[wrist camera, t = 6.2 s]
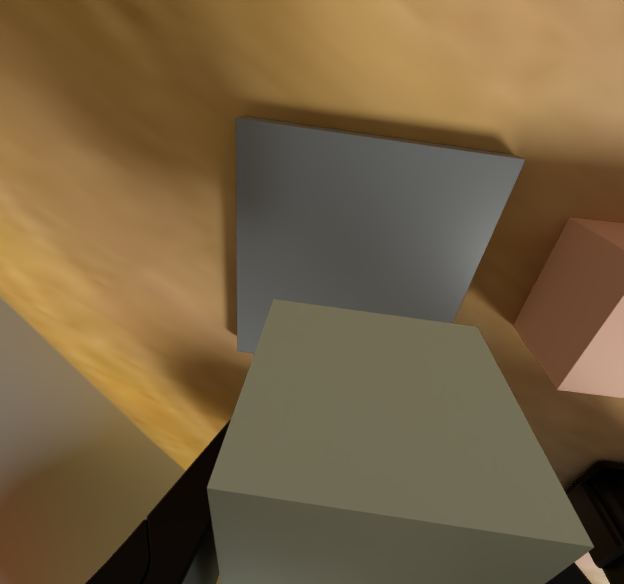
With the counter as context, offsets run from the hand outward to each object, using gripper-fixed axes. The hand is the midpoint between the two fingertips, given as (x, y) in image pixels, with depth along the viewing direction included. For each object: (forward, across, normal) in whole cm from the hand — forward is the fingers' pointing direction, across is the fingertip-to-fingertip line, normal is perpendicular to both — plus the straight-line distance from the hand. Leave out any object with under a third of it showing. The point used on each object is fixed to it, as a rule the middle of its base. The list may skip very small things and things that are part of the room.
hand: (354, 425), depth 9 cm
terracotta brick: (+9, -11, -1) cm, 15 cm away
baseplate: (+9, 0, 0) cm, 9 cm away
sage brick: (+1, 0, 0) cm, 1 cm away
